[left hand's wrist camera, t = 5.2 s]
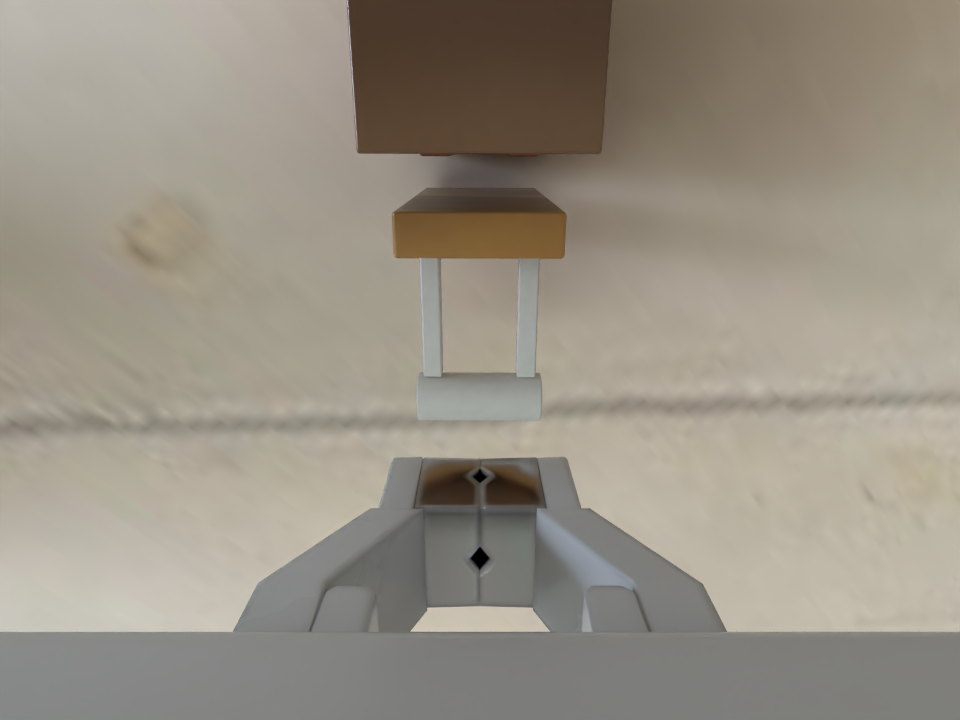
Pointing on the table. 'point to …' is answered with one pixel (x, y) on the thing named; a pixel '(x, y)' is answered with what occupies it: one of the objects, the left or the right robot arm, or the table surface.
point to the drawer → (479, 234)
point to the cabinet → (479, 75)
